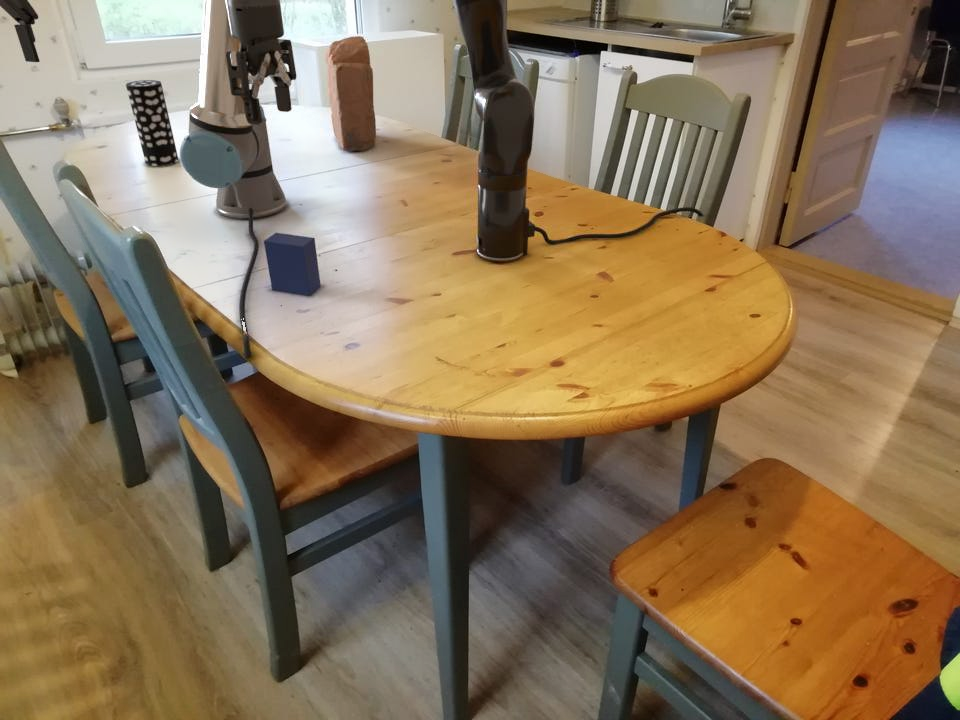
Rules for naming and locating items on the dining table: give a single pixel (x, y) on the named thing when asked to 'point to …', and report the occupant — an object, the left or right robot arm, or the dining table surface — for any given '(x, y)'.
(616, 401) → the dining table surface
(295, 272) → the block
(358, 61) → the stone
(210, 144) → the left robot arm
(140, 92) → the black white spotted cylinder
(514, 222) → the right robot arm
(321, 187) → the dining table surface
